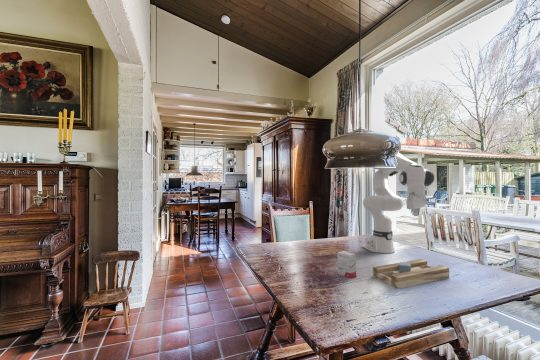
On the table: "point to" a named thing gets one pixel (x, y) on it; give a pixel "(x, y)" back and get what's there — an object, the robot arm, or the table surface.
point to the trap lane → (410, 282)
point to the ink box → (346, 264)
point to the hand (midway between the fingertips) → (416, 215)
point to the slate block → (404, 267)
